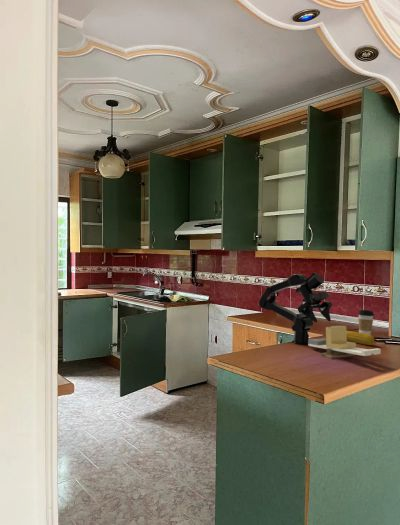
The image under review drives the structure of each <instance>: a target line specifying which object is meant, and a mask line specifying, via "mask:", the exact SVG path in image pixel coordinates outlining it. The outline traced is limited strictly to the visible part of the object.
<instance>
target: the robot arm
mask: <svg viewBox="0 0 400 525" xmlns="http://www.w3.org/2000/svg"><path fill="white" fill-rule="evenodd" d="M324 283H325V281H324V278H323V277H322V276H321V275H320V274H318V273H317V272H312V273H311V275H310V276H309V277H306V276H305V274H302V273H295V274H292V275H291V276H289V277H288V278H287V279H285V280H283V281H281V282H277V283H276V284H275V283H274V284H272V285H269V286H267V287H266V290H265V291H264V292H263V294H261V296H260V299H259V301H258V304H259V308H260V309H263V310H265V311H271V312H274V313H276V314H277V315H279V316H281V317H283V318H285V319H287V320H288V321H291V322H292V323H293V325H292V326H291V330H292V332H293V340H292V341H293V343H294V344H296V345H308V339H310V338H309V337H310V336H309V335H310V334H309V331H310V330H311V328H312V327H313V326H314V323H315V324H316V323H317V322H318V319H317V316H316V315H315V313H314V310H317V309H318V310H319V312H320V314H321V315H322V316H323V318H325V319H326V320H327V321H328V322H331V321H332V320H331V314H330V309H331V308H332V306H333V304H332V302H331V301H329V300H328V298H329V293H328V292H327V291H326V290H324V291H320V292H316V293H314V291H313V290H315V291H316V290H317V289H318V288H319V287H320V286H322V285H323V284H324ZM298 286H299V287H298ZM291 287H296V289H295V293H297V294H300V295H301V296H302V298H303V299H302V303H301V304H300V305H299V306H298V307H297V311H298V312H299V313H295V312H293V311H292V310H290V309H288V308H286V307H284V306H282V305H280V304H278V302H277V301H276V298H277V297H276V296H277V293H278V292H280V291H283V290H286V289H288V288H291ZM323 300H324V301H323ZM325 300H328V301H325Z"/></svg>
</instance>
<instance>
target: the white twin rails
mask: <svg viewBox="0 0 400 525" xmlns="http://www.w3.org/2000/svg"><path fill="white" fill-rule="evenodd" d="M307 345H308V347H312V348H313V347H314V348H318V349H324V350H327V348H329V349H332V350H334V351H340V352H345V353H351V354H356V355H358V356H363V357H367V356H368V357H369V356H372V355H374V356H375V355H381V354H382V353H381V348H378V347H377V348H371V349H367V348H361V347H357V346H356V347H355V348H347V349H336V348H330V347H326V337H319V338H309V339H308V344H307Z"/></svg>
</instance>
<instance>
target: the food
mask: <svg viewBox="0 0 400 525" xmlns="http://www.w3.org/2000/svg"><path fill="white" fill-rule="evenodd" d="M346 332H347V342H354V343H356V344H360V345H366V346H372V345H374V343H375V337H374V336H373V335H372V334H371V335H370V334H366V333H360V332H359V331H351V330H346Z"/></svg>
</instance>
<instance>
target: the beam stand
mask: <svg viewBox="0 0 400 525" xmlns="http://www.w3.org/2000/svg"><path fill="white" fill-rule="evenodd" d="M320 356H321V357H325V358H327V359H330V360H333V359H340V358H347V357H354V356H356V354H351V353H345V352H340V351H334V350H332V349H329V348H327V349H326V352H320Z"/></svg>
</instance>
